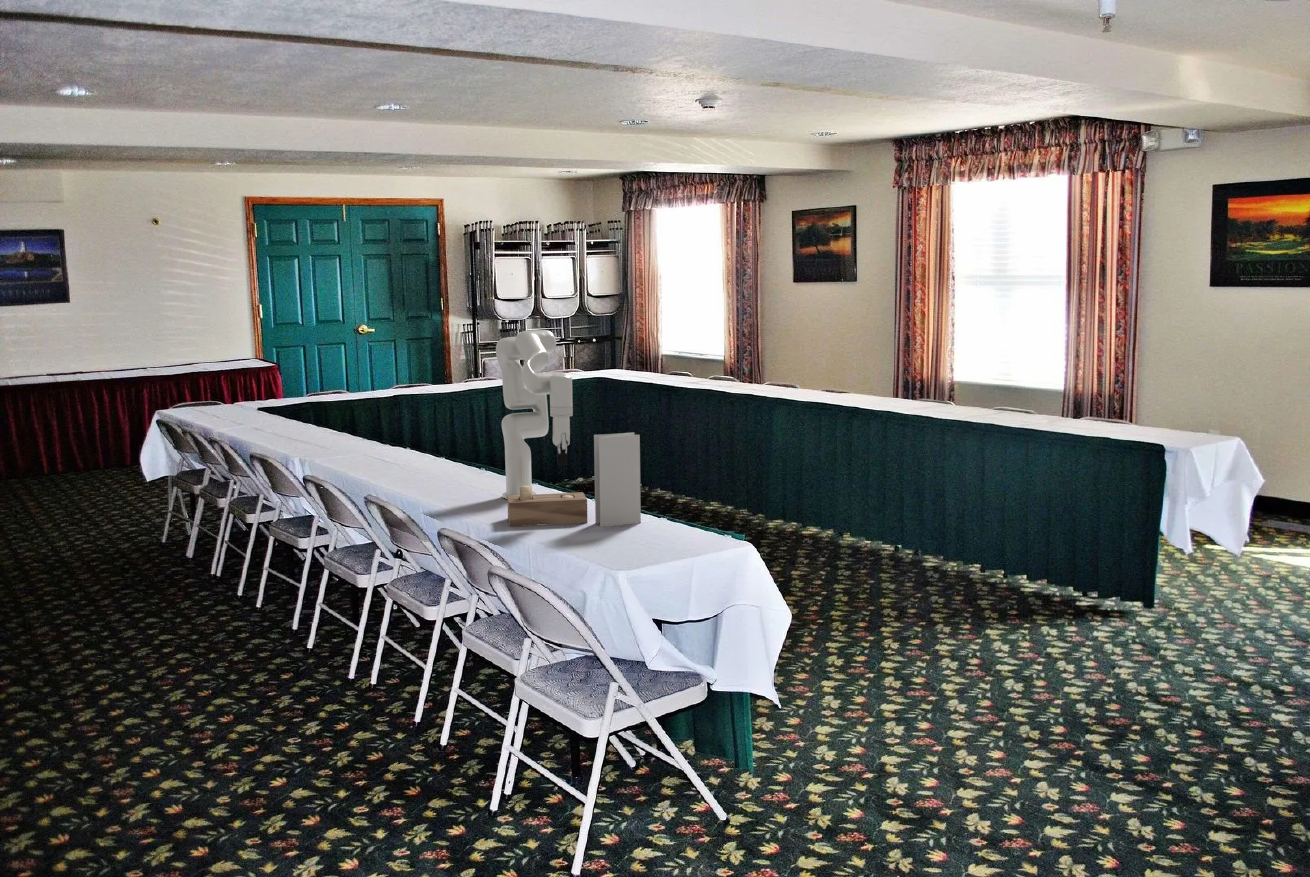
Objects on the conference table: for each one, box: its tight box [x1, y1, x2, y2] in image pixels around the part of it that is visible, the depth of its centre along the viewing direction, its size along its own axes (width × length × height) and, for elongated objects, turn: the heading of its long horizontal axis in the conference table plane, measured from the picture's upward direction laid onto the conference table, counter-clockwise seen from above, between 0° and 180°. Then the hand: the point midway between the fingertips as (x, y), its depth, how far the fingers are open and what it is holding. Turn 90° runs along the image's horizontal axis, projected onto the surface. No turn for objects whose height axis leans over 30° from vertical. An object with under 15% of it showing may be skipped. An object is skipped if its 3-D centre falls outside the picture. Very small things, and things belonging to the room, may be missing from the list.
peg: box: [520, 485, 533, 500], centre depth 371 cm, size 4×4×8 cm
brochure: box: [593, 432, 642, 528], centre depth 367 cm, size 14×6×30 cm, turn 111°
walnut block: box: [506, 491, 588, 527], centre depth 373 cm, size 12×26×8 cm, turn 100°
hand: (562, 464), depth 372 cm, fingers closed
